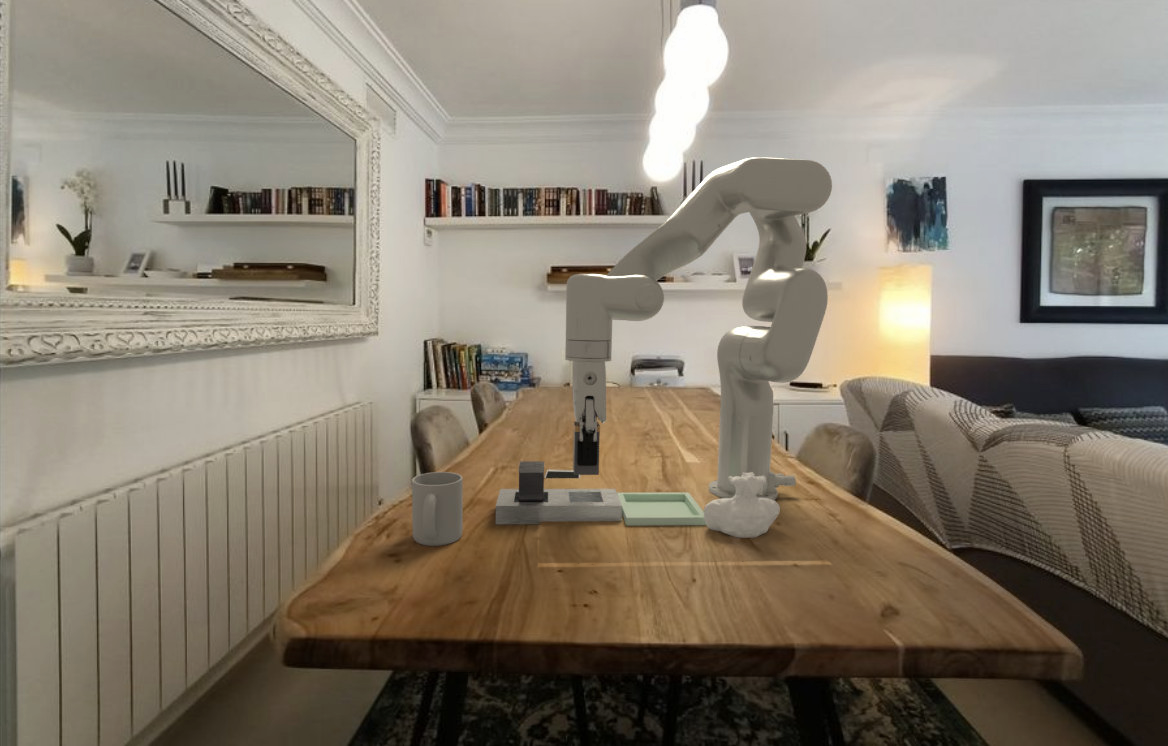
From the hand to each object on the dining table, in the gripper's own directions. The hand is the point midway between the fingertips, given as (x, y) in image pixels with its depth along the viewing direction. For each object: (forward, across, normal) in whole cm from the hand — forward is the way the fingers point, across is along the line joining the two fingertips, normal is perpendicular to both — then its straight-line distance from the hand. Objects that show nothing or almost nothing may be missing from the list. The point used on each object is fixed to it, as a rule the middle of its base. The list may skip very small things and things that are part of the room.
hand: (586, 460), depth 98 cm
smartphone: (+10, +19, +3) cm, 22 cm away
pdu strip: (+9, 0, +4) cm, 10 cm away
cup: (+9, -11, +23) cm, 27 cm away
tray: (+9, 0, -13) cm, 16 cm away
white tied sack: (+9, -10, -24) cm, 27 cm away
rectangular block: (+2, 0, 0) cm, 2 cm away
